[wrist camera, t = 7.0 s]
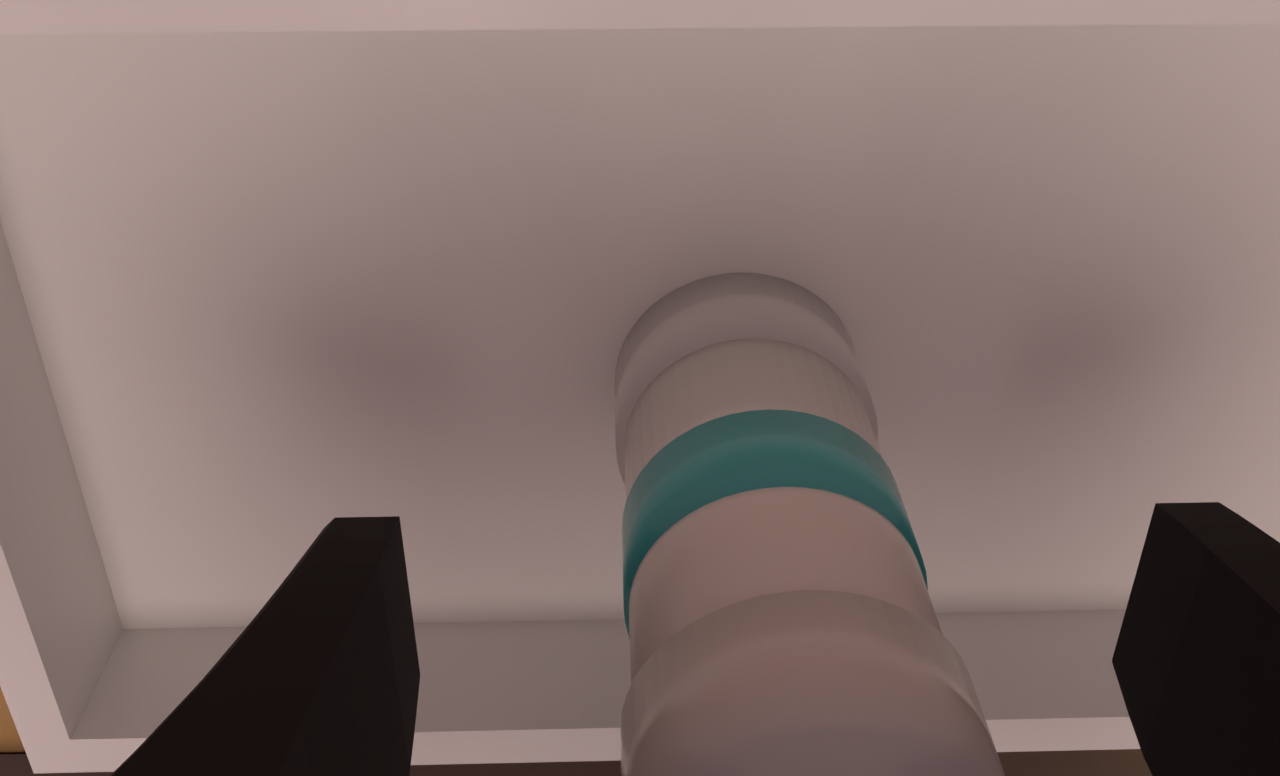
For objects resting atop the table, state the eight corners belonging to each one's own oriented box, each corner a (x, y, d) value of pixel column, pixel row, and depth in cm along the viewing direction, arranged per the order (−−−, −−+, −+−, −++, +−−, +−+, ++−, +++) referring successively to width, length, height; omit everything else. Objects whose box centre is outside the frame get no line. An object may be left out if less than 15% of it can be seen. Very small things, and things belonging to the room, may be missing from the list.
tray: (1322, 612, 18) (1419, 742, 16) (102, 636, 18) (33, 772, 16) (1601, -101, 13) (1801, -49, 11) (-126, -91, 12) (-278, -36, 10)
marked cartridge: (844, 477, 16) (990, 980, 10) (616, 481, 16) (624, 989, 10) (867, 271, 14) (1056, 721, 8) (613, 273, 14) (620, 730, 8)
